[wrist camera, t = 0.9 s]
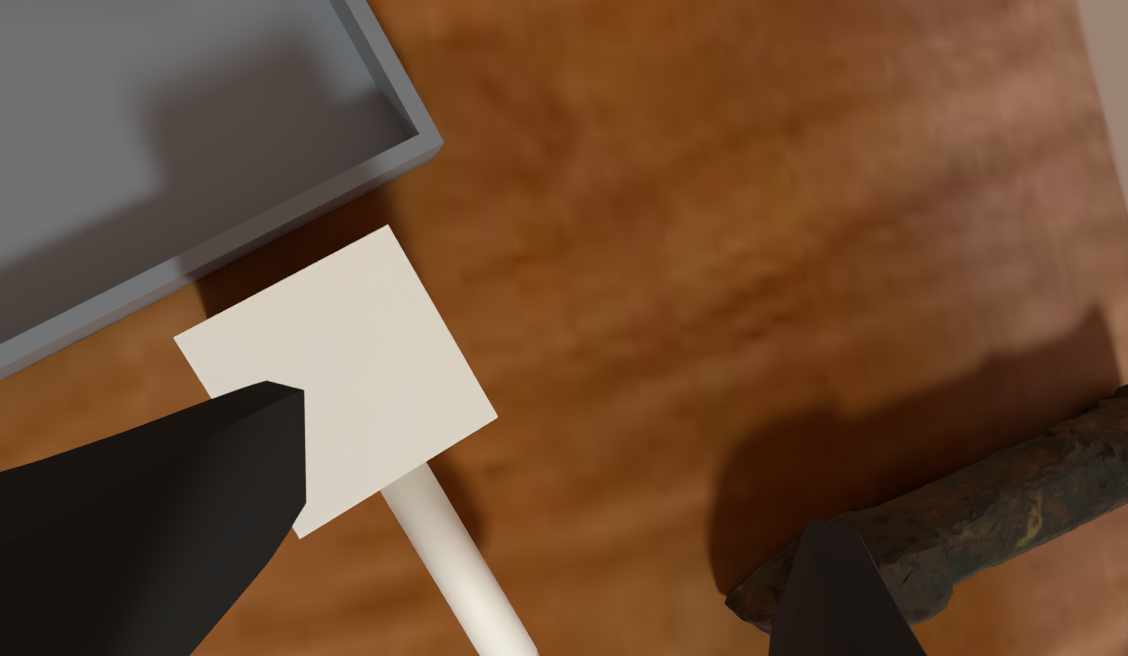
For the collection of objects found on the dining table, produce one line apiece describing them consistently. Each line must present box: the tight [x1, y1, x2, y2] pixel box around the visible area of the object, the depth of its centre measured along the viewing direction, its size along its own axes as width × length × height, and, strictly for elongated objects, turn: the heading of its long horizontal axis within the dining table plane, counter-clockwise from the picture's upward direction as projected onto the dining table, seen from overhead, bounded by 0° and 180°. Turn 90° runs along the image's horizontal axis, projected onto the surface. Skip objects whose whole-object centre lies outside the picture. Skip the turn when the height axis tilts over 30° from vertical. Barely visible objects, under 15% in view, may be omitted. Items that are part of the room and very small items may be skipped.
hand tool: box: [724, 384, 1128, 635], centre depth 29 cm, size 19×4×5 cm, turn 104°
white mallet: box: [173, 225, 539, 656], centre depth 22 cm, size 13×5×7 cm, turn 29°
